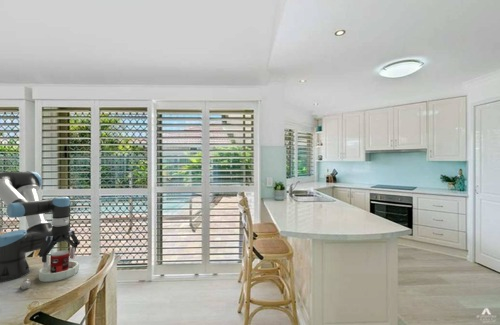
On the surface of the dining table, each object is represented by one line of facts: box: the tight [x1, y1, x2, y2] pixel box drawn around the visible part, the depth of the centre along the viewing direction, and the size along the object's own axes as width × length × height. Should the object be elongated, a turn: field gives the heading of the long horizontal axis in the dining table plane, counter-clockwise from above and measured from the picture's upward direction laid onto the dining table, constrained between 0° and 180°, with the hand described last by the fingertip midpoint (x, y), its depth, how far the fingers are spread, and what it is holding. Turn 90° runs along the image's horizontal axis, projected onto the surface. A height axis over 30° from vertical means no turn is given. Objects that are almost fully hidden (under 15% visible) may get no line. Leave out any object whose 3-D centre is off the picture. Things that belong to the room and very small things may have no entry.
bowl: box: [38, 260, 80, 283], centre depth 131 cm, size 17×17×4 cm
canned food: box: [49, 249, 70, 273], centre depth 131 cm, size 8×8×11 cm
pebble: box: [20, 281, 32, 290], centre depth 116 cm, size 4×4×4 cm
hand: (59, 263), depth 131 cm, fingers open, 13 cm apart
